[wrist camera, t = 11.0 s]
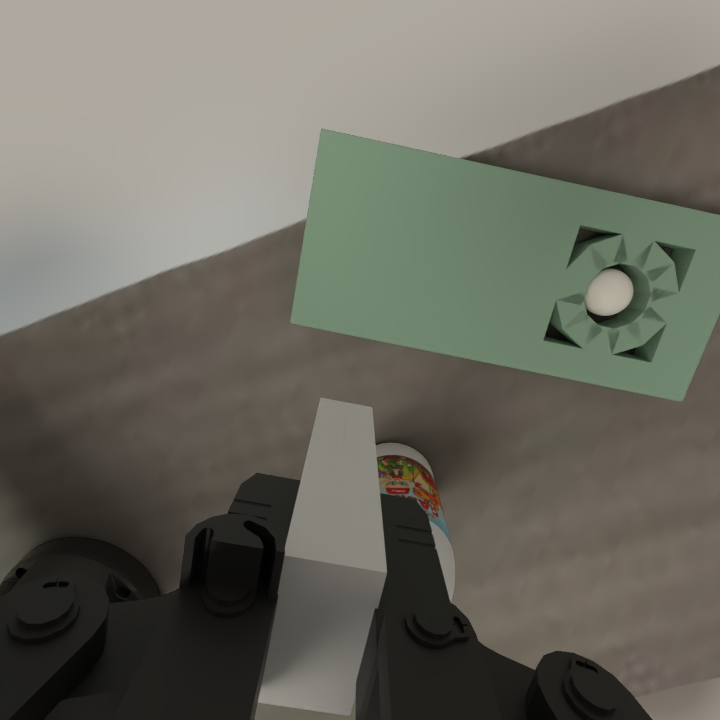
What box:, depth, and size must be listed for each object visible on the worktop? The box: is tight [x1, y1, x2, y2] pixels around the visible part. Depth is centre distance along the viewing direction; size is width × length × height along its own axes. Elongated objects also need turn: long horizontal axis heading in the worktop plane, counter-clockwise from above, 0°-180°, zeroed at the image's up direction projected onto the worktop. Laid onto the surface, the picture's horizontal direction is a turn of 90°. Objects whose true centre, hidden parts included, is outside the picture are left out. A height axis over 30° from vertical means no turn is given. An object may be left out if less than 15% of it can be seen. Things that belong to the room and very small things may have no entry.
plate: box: [290, 129, 720, 402], centre depth 34 cm, size 32×14×2 cm, turn 79°
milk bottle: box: [376, 443, 455, 603], centre depth 31 cm, size 8×8×20 cm
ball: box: [584, 269, 633, 316], centre depth 34 cm, size 4×4×4 cm
